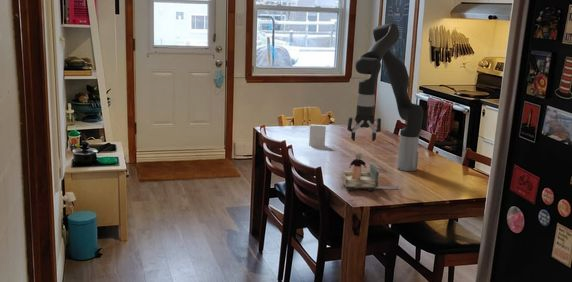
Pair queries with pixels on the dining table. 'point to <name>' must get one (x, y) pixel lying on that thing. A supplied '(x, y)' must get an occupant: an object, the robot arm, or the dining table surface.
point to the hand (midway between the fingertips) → (363, 140)
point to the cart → (362, 179)
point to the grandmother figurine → (357, 166)
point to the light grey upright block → (317, 136)
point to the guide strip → (375, 187)
